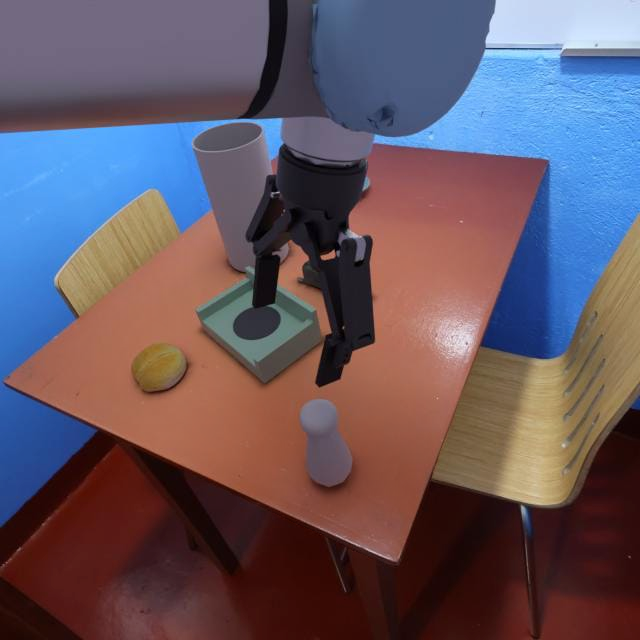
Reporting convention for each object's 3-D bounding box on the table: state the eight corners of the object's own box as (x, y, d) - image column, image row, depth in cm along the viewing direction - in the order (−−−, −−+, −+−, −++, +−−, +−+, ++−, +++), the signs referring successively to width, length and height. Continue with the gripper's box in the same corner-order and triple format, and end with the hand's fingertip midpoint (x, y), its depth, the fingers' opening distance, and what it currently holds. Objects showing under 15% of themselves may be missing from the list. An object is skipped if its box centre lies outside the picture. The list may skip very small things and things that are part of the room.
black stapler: (372, 275, 80) (300, 253, 87) (363, 285, 78) (290, 262, 85) (372, 297, 83) (303, 274, 90) (364, 307, 82) (294, 283, 88)
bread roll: (150, 402, 72) (140, 386, 69) (129, 371, 77) (119, 354, 75) (198, 373, 75) (190, 356, 72) (174, 344, 81) (166, 328, 78)
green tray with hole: (264, 383, 72) (254, 352, 67) (203, 330, 82) (190, 300, 78) (322, 340, 77) (316, 309, 72) (257, 295, 87) (248, 265, 83)
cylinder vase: (301, 249, 97) (278, 127, 80) (259, 282, 90) (224, 157, 73) (259, 233, 103) (230, 117, 86) (217, 262, 97) (176, 144, 80)
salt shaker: (360, 485, 58) (351, 424, 49) (315, 500, 57) (298, 441, 48) (345, 445, 62) (334, 383, 53) (303, 459, 61) (285, 398, 52)
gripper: (466, 213, 33) (390, 407, 47) (286, 100, 48) (267, 272, 61) (388, 229, 29) (329, 436, 43) (218, 101, 44) (213, 284, 57)
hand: (293, 340), depth 52 cm, fingers open, 13 cm apart
